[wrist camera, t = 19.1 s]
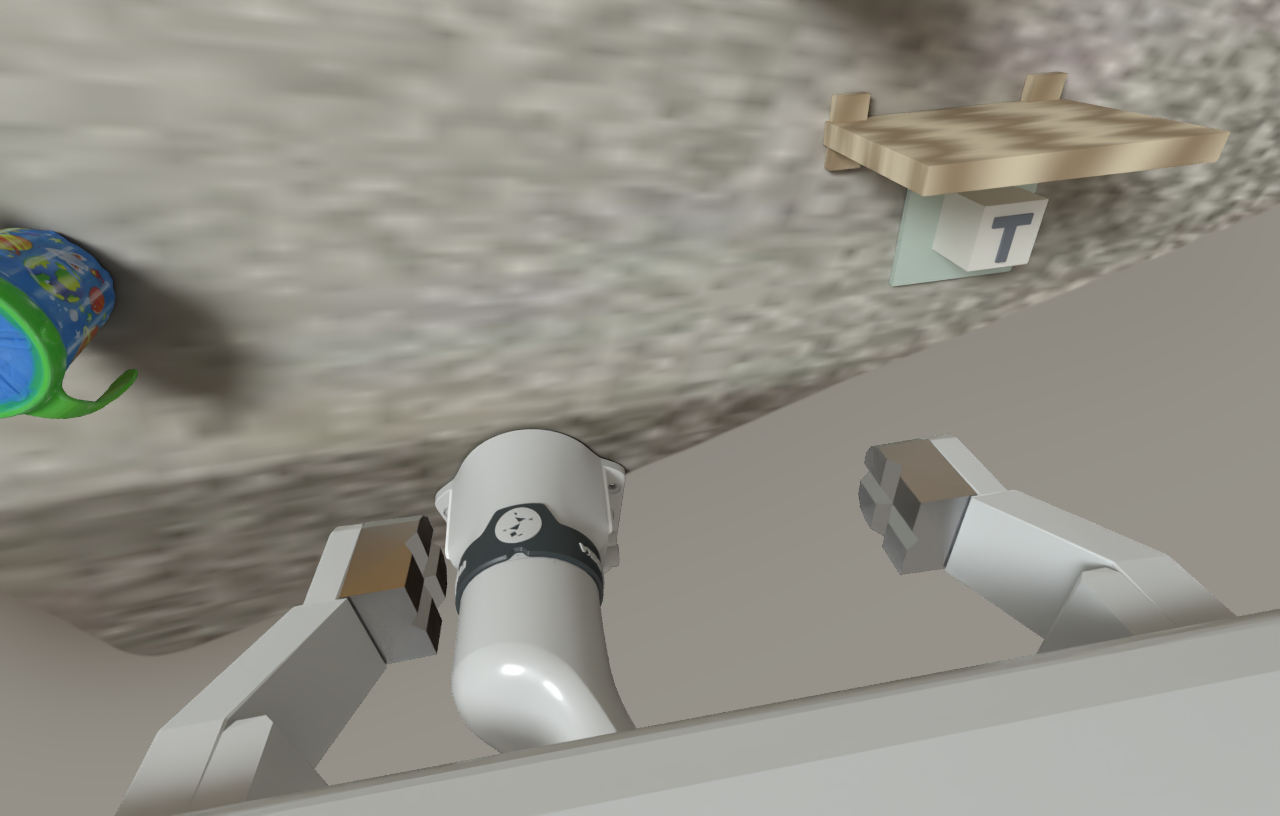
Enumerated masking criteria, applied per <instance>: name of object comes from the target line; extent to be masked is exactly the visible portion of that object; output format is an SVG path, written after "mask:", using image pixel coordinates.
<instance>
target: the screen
mask: <svg viewBox="0 0 1280 816" xmlns="http://www.w3.org/2000/svg"><path fill="white" fill-rule="evenodd" d="M1066 77H1067V73H1062V72H1051V73H1041V74H1031V75H1027V78H1026V82H1025V85H1024V89H1023V93H1022V96H1021V100H1020V101H1012V102H1002V103H993V104H983V105H974V106H965V107H955V108H946V109H937V110H927V111H918V112H908V113H899V114H890V115H880V116H871V117H867V116H868V109H869V102H870V95H871V94H870V93H867V92H857V93H847V94H837V95H832V103H831V112H830V121H826V122H825V132H824V141H823V145H825V146H827V148H826V158H825V167H824V168H825V169H827V170H829V171H835V170H844V169H853V168H860V165H863V166H865V167H867V168H869V169H871V170H873V171H875V172H877V173H879V174H881V175H883V176H885V177H887V178H889V179H890V180H892V181H894V182H896V183H898V184H900V185H902V186H904V187H906V188H908V189H910V190H912V191H914V192H916V193H918V194H919V195H921V196H932V195H940V194H949V193H957V192H965V191H974V190H982V189H991V188H999V187H1008V186H1016V185H1024V184H1033V183H1041V182H1050V181H1058V180H1066V179H1075V178H1083V177H1092V176H1100V175H1109V174H1117V173H1125V172H1134V171H1142V170H1151V169H1159V168H1168V167H1176V166H1184V165H1193V164H1201V163H1210V162H1217V160H1218V158H1219V156H1220V153H1221V151H1222V149H1223V147H1224V145H1225V143H1226V141H1227V139H1228V137H1229V135H1230V133H1231V132H1229V131H1224V130H1219V129H1214V128H1209V127H1203V126H1198V125H1193V124H1188V123H1183V122H1178V121H1173V120H1168V119H1163V118H1158V117H1153V116H1147V115H1142V114H1137V113H1132V112H1127V111H1122V110H1117V109H1112V108H1107V107H1102V106H1097V105H1092V104H1086V103H1081V102H1076V101H1071V100H1066V99H1061V98H1060V96H1061V93H1062V89H1063V86H1064V83H1065V80H1066Z"/></svg>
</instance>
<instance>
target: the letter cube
mask: <svg viewBox="0 0 1280 816" xmlns="http://www.w3.org/2000/svg"><path fill="white" fill-rule="evenodd" d="M1048 200H1049V199H1048V198H1045V197H1043V196H1040V195H1038V194H1035V193H1033V192H1030V191H1028V190H1025V189H1023V188H1020V187H1017V186H1008V187H999V188H991V189H982V190H974V191H965V192H957V193H949V194H945V195H944V200H943V204H942V208H941V213H940V217H939V221H938V226H937V230H936V234H935V239H934V243H933V248H932V249H933V250H935V251H936V252H938V253H939V254H941V255H942V256H944V257H945V258H947V259H949V260H950V261H952V262H953V263H955V264H956V265H958V266H960V267H961V268H963V269H964V270H966V271H975V270H983V269H991V268H998V267H1006V266H1014V265H1021V264H1027V263H1028V260H1029V257H1030V254H1031V251H1032V248H1033V245H1034V242H1035V239H1036V236H1037V233H1038V230H1039V227H1040V224H1041V221H1042V218H1043V215H1044V212H1045V209H1046V206H1047V203H1048Z"/></svg>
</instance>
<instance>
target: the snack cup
mask: <svg viewBox="0 0 1280 816" xmlns="http://www.w3.org/2000/svg"><path fill="white" fill-rule="evenodd" d="M112 285H113V279H112V278H111V276H110V274H109V273H108V271H106V270H104V269H103V268H102V267H101V266H100V265H99V263H98V261H97V260H96V259H95V258H94V257H93V256H92V255H90V254H89V253H88V252H86V251H85V250H83V249H82V248H80V247H79V246H77V245H75V244H73V243H70V242H69V241H68V240H66V239H65V238H64V237H62V236H60V235H59V234H58V233H56V232H54V231H42V230H34V229H27V228H6V229H1V230H0V418H7V417H12V416H16V415H21V414H26V415H32V416H37V417H43V418H51V419H67V418H75V417H81V416H84V415H88V414H91V413H93V412H95V411H97V410H99V409H101V408H103V407H104V406H106V405H107V404H109V403H110V402H111V401H113V400H115V399H116V398H118V397H119V396H120V395H122V394H123V393H124V392H125V391H126V390H127V389H128V388H129V387H130V386H131V385H132V384H133V382H134V381H135V379H136V378H137V375H138V371H137V370H136V369H129V370H127V371H126V372H124V373H123V374H122V375H121V376H120V377H118V378H117V379H116V380H115V381H114V382H113V383H112V384H111V386H110V387H109V389H108V390H107V391H106V392H105V393H104V394H103V395H102V396H101V397H100V398H99V399H98V400H97V401H95V402H93V401H85V400H78V399H75V398H72V397H70V396H68V395H67V394H66V393H65V391H64V390H63V388H62V381H63V378H64V375H65V371H66V370H67V369H68V367H69V365H70V364H71V363H72V362H73V361H74V360H75V359H76V357H77V356H78V355H79V354H80V353H81V352H82V350H83V349H84V348H85V347H86V346H87V344H88V343H89V342H90V341H91V340H92V338H93V337H94V336H95V335H96V333H97V331H98V329H99V328H100V327H101V326H103V325H104V324H105V322H106V321H107V320H108V319H109V315H110V314H111V312H112V310H113V307H114V304H115V292H114V290H113V286H112Z"/></svg>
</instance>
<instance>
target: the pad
mask: <svg viewBox="0 0 1280 816" xmlns="http://www.w3.org/2000/svg"><path fill="white" fill-rule="evenodd" d="M1016 186H1017V187H1020V188H1023V189H1025V190H1028V191H1030V192H1033V193H1035V192H1036V189H1037V186H1038V183H1033V184H1024V185H1016ZM944 195H945V194H940V195H932V196H921V195H919V194H918V193H916V192H914V191H912V190H910V189H907V194H906V199H905V204H904V210H903V215H902V220H901V225H900V230H899V236H898V241H897V246H896V251H895V257H894V262H893V267H892V272H891V277H890V283H889V284H890V285H891V286H901V285H908V284H916V283H924V282H931V281H939V280H947V279H954V278H962V277H969V276H977V275H985V274H992V273H1000V272H1008V271H1011V268H1012V266H1006V267H998V268H991V269H983V270H975V271H966V270H964V269H963V268H961V267H960V266H958V265H956V264H955V263H953V262H952V261H950V260H949V259H947V258H945V257H944V256H942V255H941V254H939V253H938V252H936V251H935V250H933V249H932V248H933V243H934V239H935V234H936V230H937V226H938V221H939V217H940V213H941V208H942V204H943V200H944Z"/></svg>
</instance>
